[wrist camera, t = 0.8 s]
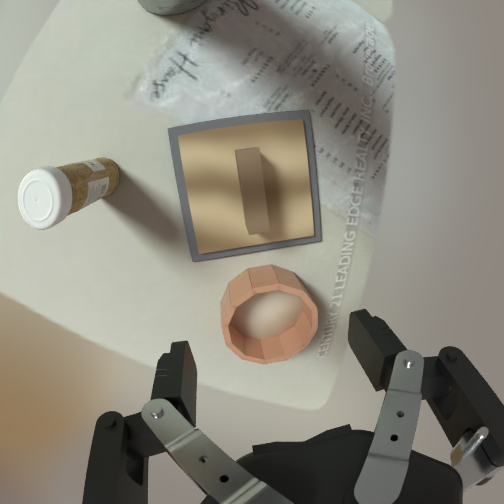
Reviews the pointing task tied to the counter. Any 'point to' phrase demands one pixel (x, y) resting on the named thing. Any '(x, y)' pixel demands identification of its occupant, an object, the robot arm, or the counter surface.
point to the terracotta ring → (267, 315)
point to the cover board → (225, 189)
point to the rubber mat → (234, 122)
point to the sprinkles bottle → (64, 190)
